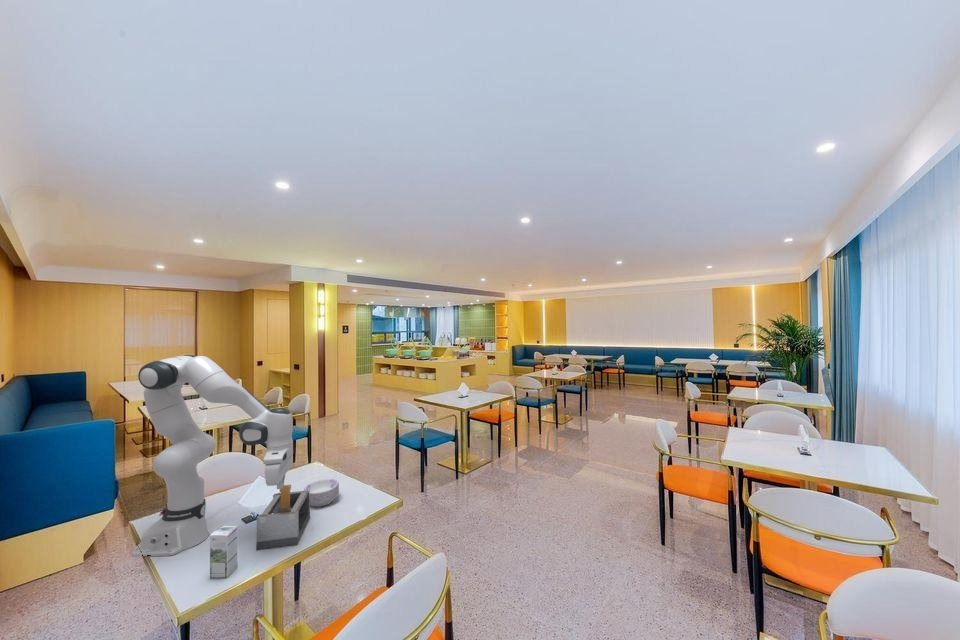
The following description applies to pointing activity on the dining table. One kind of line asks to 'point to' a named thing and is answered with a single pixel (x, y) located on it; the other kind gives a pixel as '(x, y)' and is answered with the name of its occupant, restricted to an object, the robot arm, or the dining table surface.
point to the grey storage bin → (283, 522)
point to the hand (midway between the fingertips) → (280, 487)
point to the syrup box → (223, 551)
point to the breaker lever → (285, 499)
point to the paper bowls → (322, 491)
